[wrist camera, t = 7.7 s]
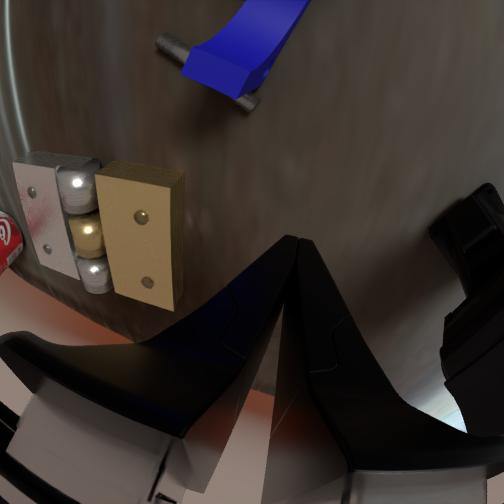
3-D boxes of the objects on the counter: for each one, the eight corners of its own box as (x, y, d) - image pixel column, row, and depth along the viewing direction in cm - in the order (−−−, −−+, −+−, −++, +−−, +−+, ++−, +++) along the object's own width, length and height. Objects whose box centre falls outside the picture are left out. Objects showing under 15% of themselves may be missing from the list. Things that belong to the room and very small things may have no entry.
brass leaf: (78, 155, 23) (50, 173, 20) (185, 171, 22) (163, 195, 19) (97, 264, 31) (79, 287, 28) (183, 291, 30) (169, 319, 28)
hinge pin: (253, 109, 19) (263, 97, 18) (246, 115, 18) (257, 102, 17) (162, 44, 17) (170, 31, 16) (152, 47, 16) (159, 33, 15)
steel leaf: (31, 150, 24) (5, 166, 21) (108, 160, 23) (80, 180, 20) (54, 249, 32) (35, 269, 29) (123, 273, 31) (105, 298, 28)
